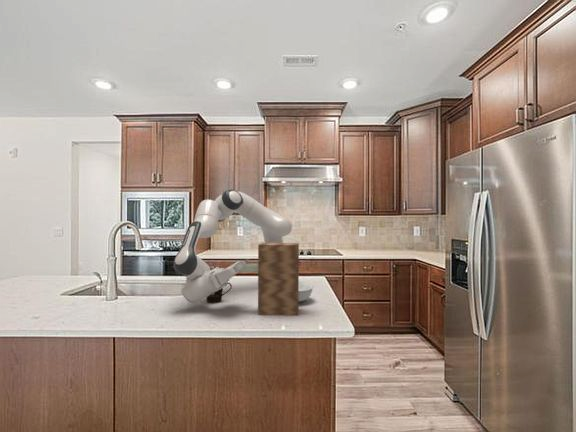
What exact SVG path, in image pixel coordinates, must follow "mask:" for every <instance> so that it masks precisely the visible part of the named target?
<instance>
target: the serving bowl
mask: <svg viewBox="0 0 576 432" xmlns="http://www.w3.org/2000/svg"><path fill="white" fill-rule="evenodd" d="M312 292H313V286H311V285H310V284H307V283H302V282H300V283H299V298H298V303H300V302H303V301H306V300H307V299H309V297H310V296H311V295H312Z"/></svg>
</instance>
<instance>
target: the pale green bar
mask: <svg viewBox="0 0 576 432" xmlns="http://www.w3.org/2000/svg"><path fill="white" fill-rule="evenodd" d="M238 273H258V263H248V264H247V265H246V266H244V267H243V268H241V269H240V270H239V272H238Z"/></svg>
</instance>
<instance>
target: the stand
mask: <svg viewBox="0 0 576 432" xmlns="http://www.w3.org/2000/svg"><path fill="white" fill-rule="evenodd" d="M299 244H300V243H299V242H283V243H265V242H260V243H259V244H257V245H258V247H257V248H258V249H257V251H258V253H257V254H258V255H257V257H258V260H257V261H258V262H257V264H258V272H257V275H258V276H257V315H261V316H299V302H298V298H299V281H300V280H299V275H300V273H299V270H300V269H299V268H300V267H299V265H300V264H299V263H300V260H299V259H300V257H299V256H300V255H299V254H300V252H299V251H300V250H299V249H300V245H299Z"/></svg>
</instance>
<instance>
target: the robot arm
mask: <svg viewBox="0 0 576 432" xmlns="http://www.w3.org/2000/svg"><path fill="white" fill-rule="evenodd" d="M235 212H236V213H237V214H239V216H240V215H241V217H242V218H245V219H246V220H247V221H249V222H251V223H252V224H253V225H256V226H258V227H260V230H261V231H262V233H263V234H262V235H263V239H264V243H284V240H283V237H285V236H288V235H290V234H291V232H292V230H293V225H292V221H291V220H290V219H288V218H287V217H285V216H283V215H281V214H280V213H278V212H276V211H274V210H272V209H271V208H269V207H266V206H265V205H263V204H262V203H260V202H259V201H257V200H256V199H254V197H252V196H250V195H249V194H246V193H244V192H242V191H238V190H235V189H233V188H231V189H230V188H229V189H227V190H225V191H224V192H223V193H222V194H220V195H218V196H217V197H216V198H215V199H214V200H213V199H204V200H201V202H200V203H199V205H198V207H197V210H196V213H195V217H194V220H193V222H191V223H190V224H189V226H188V227H187V229H186V231H185V234H184V236H183V241H181V244H180V245H181V246H180V247H179V250H178V252H177V253H176V255H175V257H174V259H173V262H172V263H173V269H174V271H175V272H176V273H177V274H180V275H182V276H183V277H185V278H186V281H185V283H184V286H183V287H182V288H181V290H180V292H181V294H182V296H183V298H184V299H185V300H186V301H188V302H189V303H192V304H193V303H194V304H195V303H197V302H200V301H203V300H204V299H207V297H208V296H209V295H210V294H211V293H213V292H216V291H218V290H220V289H222V288H223V289H224V288H225V287H227V286H228V285H229V284H228V283H229V282H230V280H231V279H232V278H234V276H235V275H237V274H238V273H240V272H239V270H240V269H241V268H243V267H244V266H246V265H247V264H250V260H249V258H247V259H245V260H242V261H240V260H238V261H236V262H235V263H233V264H231V265H230V266H228V267H226V268H224V267H221V268H220V267H218V266H216V267H214V268H213V269H211V267H210V266H209V264H208V263H206V262H205V261H204V260H203V259H201V258H200V257H199V256H198V255H197V253H196V248H197V244H198V241H199V239H208V238H211V237H213V236H214V235H216V233H217V230H218V227H219V223H220V222H224V221H225V220H226V219H228V218H229V217H231V216H232V215H233V214H234V213H235ZM227 282H228V283H227Z"/></svg>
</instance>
